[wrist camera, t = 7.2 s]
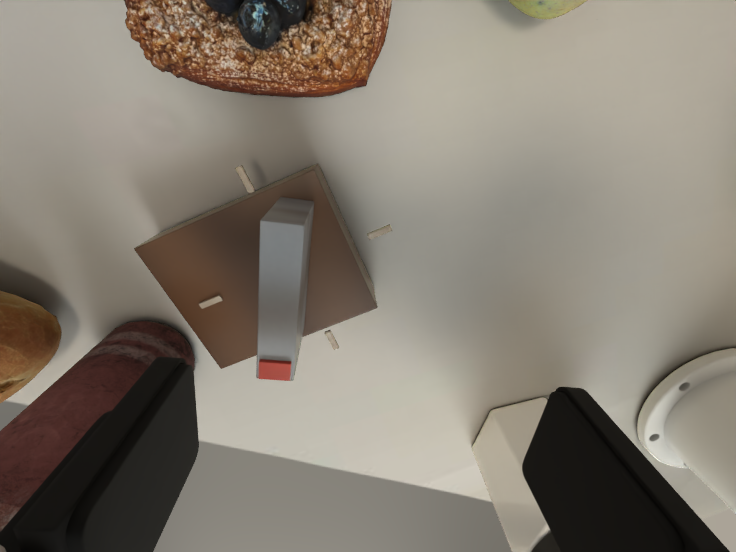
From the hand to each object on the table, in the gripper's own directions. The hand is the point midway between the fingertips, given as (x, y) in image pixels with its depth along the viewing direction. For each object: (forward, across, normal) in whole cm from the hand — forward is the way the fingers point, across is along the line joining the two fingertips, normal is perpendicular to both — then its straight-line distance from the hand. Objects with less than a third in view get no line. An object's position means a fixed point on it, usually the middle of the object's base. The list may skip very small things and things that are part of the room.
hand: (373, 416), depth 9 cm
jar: (+16, -16, +16) cm, 28 cm away
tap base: (+15, +4, +1) cm, 16 cm away
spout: (+12, +4, +1) cm, 13 cm away
